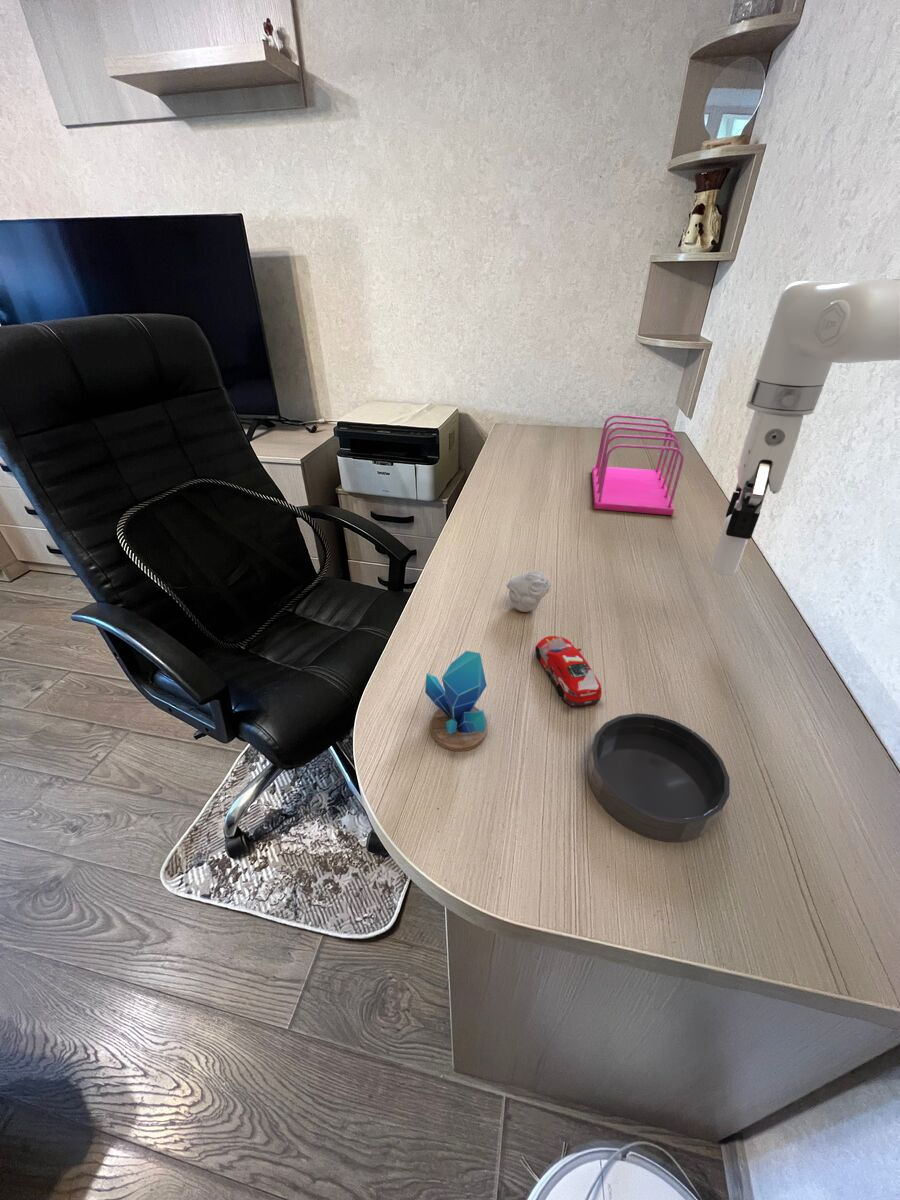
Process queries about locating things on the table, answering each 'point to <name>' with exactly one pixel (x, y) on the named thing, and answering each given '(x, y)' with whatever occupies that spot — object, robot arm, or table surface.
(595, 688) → the race car
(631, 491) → the file sorter
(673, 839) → the pan
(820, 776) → the table surface
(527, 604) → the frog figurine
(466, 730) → the gemstone
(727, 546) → the eye dropper bottle
